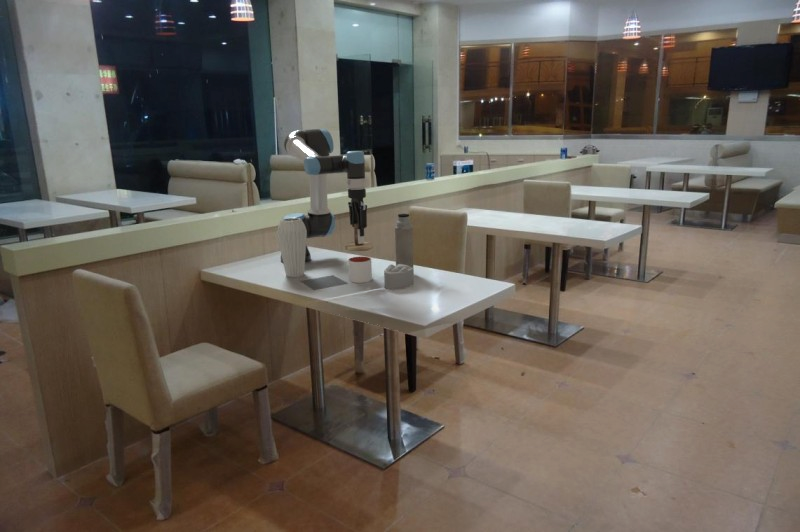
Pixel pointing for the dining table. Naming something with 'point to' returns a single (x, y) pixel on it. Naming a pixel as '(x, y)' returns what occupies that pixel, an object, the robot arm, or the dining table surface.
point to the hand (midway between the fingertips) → (359, 242)
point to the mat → (323, 282)
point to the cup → (360, 269)
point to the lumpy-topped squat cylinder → (398, 277)
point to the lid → (354, 245)
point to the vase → (292, 245)
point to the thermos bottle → (404, 241)
